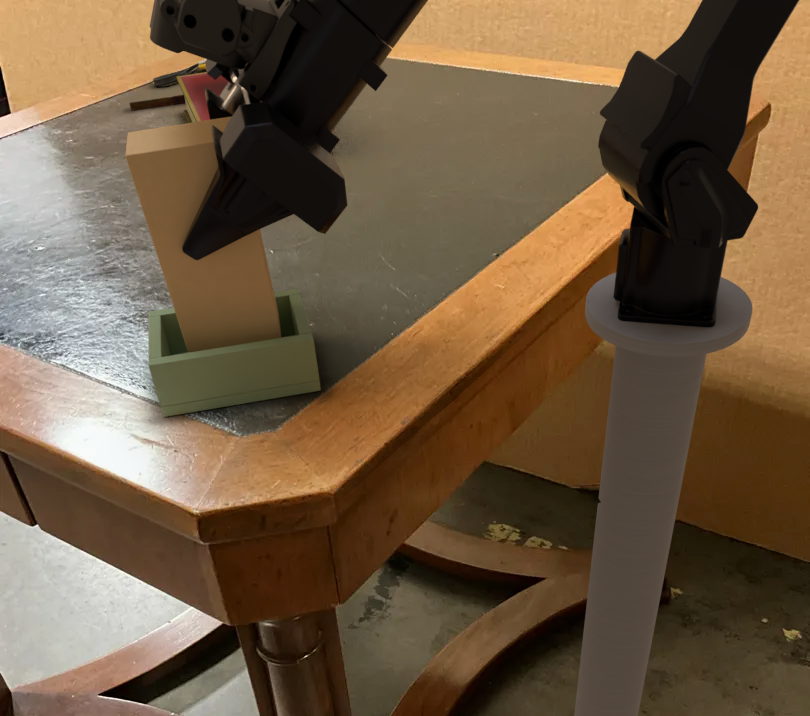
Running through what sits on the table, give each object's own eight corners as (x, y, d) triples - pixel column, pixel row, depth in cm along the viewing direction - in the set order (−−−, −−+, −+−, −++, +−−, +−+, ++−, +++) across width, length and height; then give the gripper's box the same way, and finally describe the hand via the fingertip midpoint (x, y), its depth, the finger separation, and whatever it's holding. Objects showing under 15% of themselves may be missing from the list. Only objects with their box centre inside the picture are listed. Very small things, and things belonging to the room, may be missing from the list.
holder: (161, 361, 62) (148, 311, 59) (306, 338, 63) (299, 287, 60) (163, 417, 57) (148, 365, 54) (321, 391, 58) (313, 338, 55)
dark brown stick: (258, 93, 108) (256, 84, 107) (258, 94, 107) (256, 84, 107) (131, 111, 105) (129, 102, 105) (131, 112, 105) (129, 103, 104)
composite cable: (155, 89, 111) (149, 67, 109) (151, 78, 114) (147, 57, 113) (233, 77, 113) (230, 55, 111) (228, 67, 116) (224, 46, 114)
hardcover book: (286, 97, 105) (280, 58, 102) (329, 155, 90) (324, 110, 87) (184, 113, 103) (175, 73, 100) (211, 175, 88) (201, 130, 85)
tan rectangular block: (189, 329, 59) (127, 131, 50) (278, 314, 60) (234, 115, 50) (188, 355, 57) (124, 155, 48) (281, 340, 58) (236, 138, 48)
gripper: (210, -132, 49) (69, 107, 56) (234, -85, 36) (45, 225, 42) (363, 13, 56) (221, 213, 62) (434, 99, 42) (243, 346, 48)
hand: (187, 242), depth 53 cm, fingers closed on tan rectangular block, 3 cm apart
